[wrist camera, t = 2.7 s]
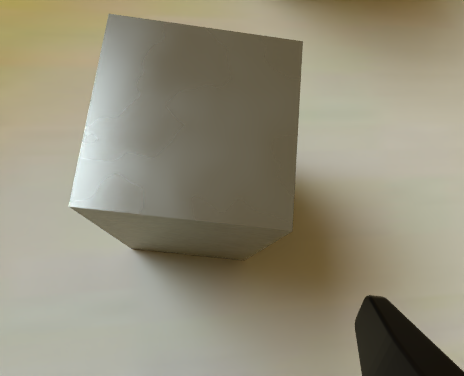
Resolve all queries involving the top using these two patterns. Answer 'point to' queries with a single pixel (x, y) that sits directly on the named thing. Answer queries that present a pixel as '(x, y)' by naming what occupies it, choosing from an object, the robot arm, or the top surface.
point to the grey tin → (191, 139)
